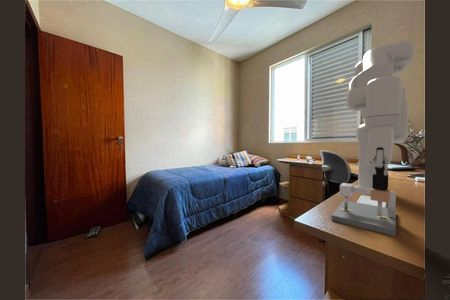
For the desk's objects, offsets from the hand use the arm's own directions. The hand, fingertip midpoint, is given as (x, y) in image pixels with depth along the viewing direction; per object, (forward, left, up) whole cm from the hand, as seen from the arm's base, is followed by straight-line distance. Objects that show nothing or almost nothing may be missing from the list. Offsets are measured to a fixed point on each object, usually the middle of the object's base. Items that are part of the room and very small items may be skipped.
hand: (380, 187), depth 52 cm
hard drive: (-19, -3, -11) cm, 22 cm away
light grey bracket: (-1, -3, -9) cm, 9 cm away
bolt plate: (-2, -4, -10) cm, 11 cm away
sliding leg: (0, 0, -8) cm, 8 cm away
